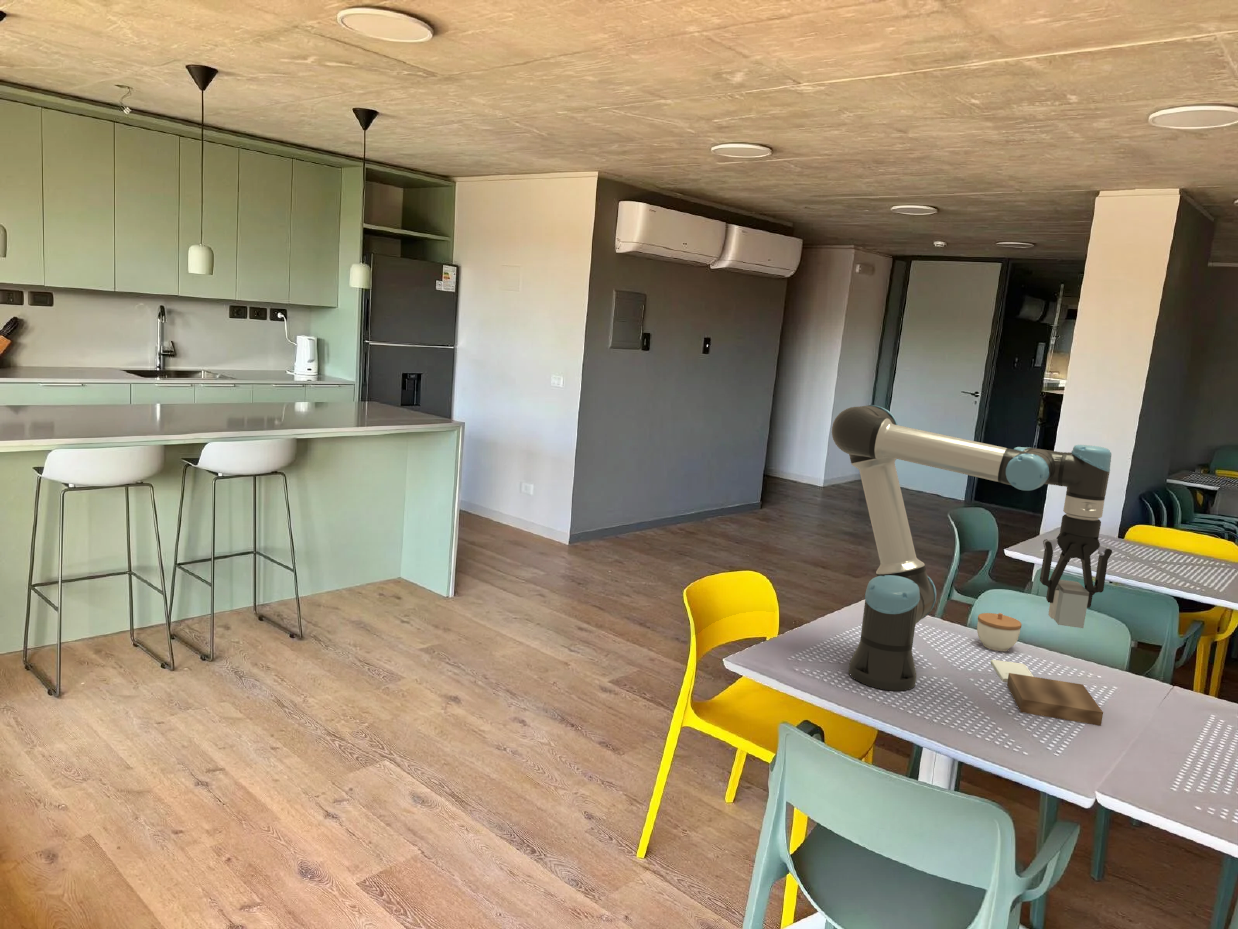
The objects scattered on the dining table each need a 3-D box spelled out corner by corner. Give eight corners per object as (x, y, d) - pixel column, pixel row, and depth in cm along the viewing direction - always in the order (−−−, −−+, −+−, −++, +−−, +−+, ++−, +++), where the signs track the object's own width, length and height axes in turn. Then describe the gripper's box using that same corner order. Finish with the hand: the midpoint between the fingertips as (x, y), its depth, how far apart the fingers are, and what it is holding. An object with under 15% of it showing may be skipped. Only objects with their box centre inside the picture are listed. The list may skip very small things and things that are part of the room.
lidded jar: (965, 641, 231) (970, 608, 230) (993, 638, 235) (998, 605, 234) (997, 656, 221) (1002, 621, 220) (1026, 652, 226) (1031, 618, 225)
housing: (1058, 624, 186) (1063, 589, 184) (1048, 612, 194) (1053, 578, 193) (1083, 628, 184) (1089, 592, 183) (1072, 616, 193) (1078, 581, 192)
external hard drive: (1024, 670, 215) (1038, 689, 202) (990, 665, 216) (1002, 684, 204) (1025, 664, 214) (1039, 682, 202) (990, 659, 216) (1003, 677, 204)
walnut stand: (1020, 712, 187) (1022, 699, 186) (1007, 685, 202) (1008, 672, 202) (1100, 725, 183) (1103, 712, 182) (1080, 696, 198) (1082, 684, 198)
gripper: (1041, 514, 184) (1025, 617, 188) (1133, 525, 180) (1115, 630, 184) (1033, 508, 192) (1018, 607, 195) (1122, 518, 187) (1105, 620, 191)
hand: (1065, 618), depth 189 cm, fingers closed on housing, 5 cm apart
